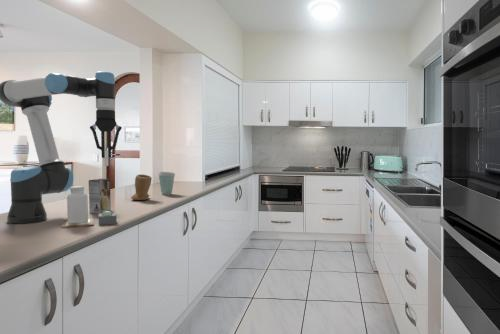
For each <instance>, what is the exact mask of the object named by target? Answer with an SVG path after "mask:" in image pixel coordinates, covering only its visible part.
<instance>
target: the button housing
mask: <svg viewBox="0 0 500 334" xmlns="http://www.w3.org/2000/svg"><path fill="white" fill-rule="evenodd" d="M116 224H117V213H116V212H111V215H106V216H103V213H98V225H99V226H100V225H101V226H102V225H103V226H104V225H116Z"/></svg>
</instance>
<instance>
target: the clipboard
mask: <svg viewBox="0 0 500 334" xmlns="http://www.w3.org/2000/svg"><path fill="white" fill-rule="evenodd" d="M94 222H95V218H93V217H92V218H88V221H87V222H85V223H78V224H73V223H68V219H65V220H64V219H63V222H62V224H61V229H65V228H67V229H69V228H80V227H81V228H83V227H94V225H95V223H94Z"/></svg>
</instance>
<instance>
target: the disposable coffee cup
mask: <svg viewBox="0 0 500 334" xmlns="http://www.w3.org/2000/svg"><path fill="white" fill-rule="evenodd" d="M157 176H158V181H159V187H160V192H161V195H163V196H166V195H167V196H170V195H172V193H173V188H174V180H175V176H176V174H175V173H174V172H173V171H172V172H170V171H159V172H158V175H157Z"/></svg>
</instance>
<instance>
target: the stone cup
mask: <svg viewBox="0 0 500 334" xmlns="http://www.w3.org/2000/svg"><path fill="white" fill-rule="evenodd" d="M134 179H135V180H134V187H135V193H134V194H133V195H132V196H131V197H130V199H131V200H134V201H145V200H147V199H149V197H150V194H149V193H148V192H149V191H150V187H151V185H152V176H150V175H149V174H137V175H136V176H135V178H134Z"/></svg>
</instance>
